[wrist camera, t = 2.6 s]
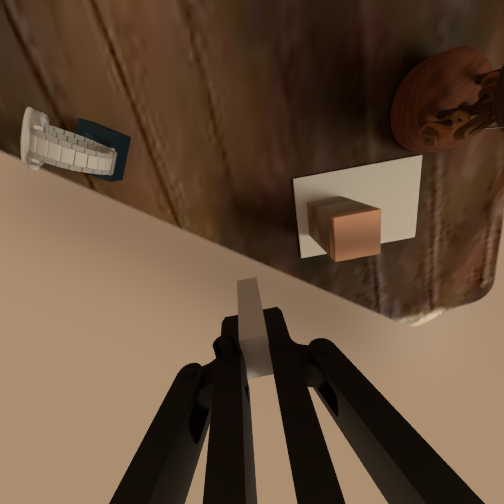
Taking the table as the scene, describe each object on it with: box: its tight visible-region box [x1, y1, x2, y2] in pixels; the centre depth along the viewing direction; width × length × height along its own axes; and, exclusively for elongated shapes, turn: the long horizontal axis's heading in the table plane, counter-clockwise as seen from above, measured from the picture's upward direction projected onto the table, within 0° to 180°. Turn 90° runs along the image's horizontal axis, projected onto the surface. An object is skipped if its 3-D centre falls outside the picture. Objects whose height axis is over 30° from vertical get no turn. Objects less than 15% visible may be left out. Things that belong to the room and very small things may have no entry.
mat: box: [293, 155, 422, 258], centre depth 34 cm, size 12×18×1 cm, turn 100°
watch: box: [20, 107, 131, 182], centre depth 25 cm, size 6×8×11 cm
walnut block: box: [306, 196, 382, 262], centre depth 30 cm, size 5×5×10 cm
